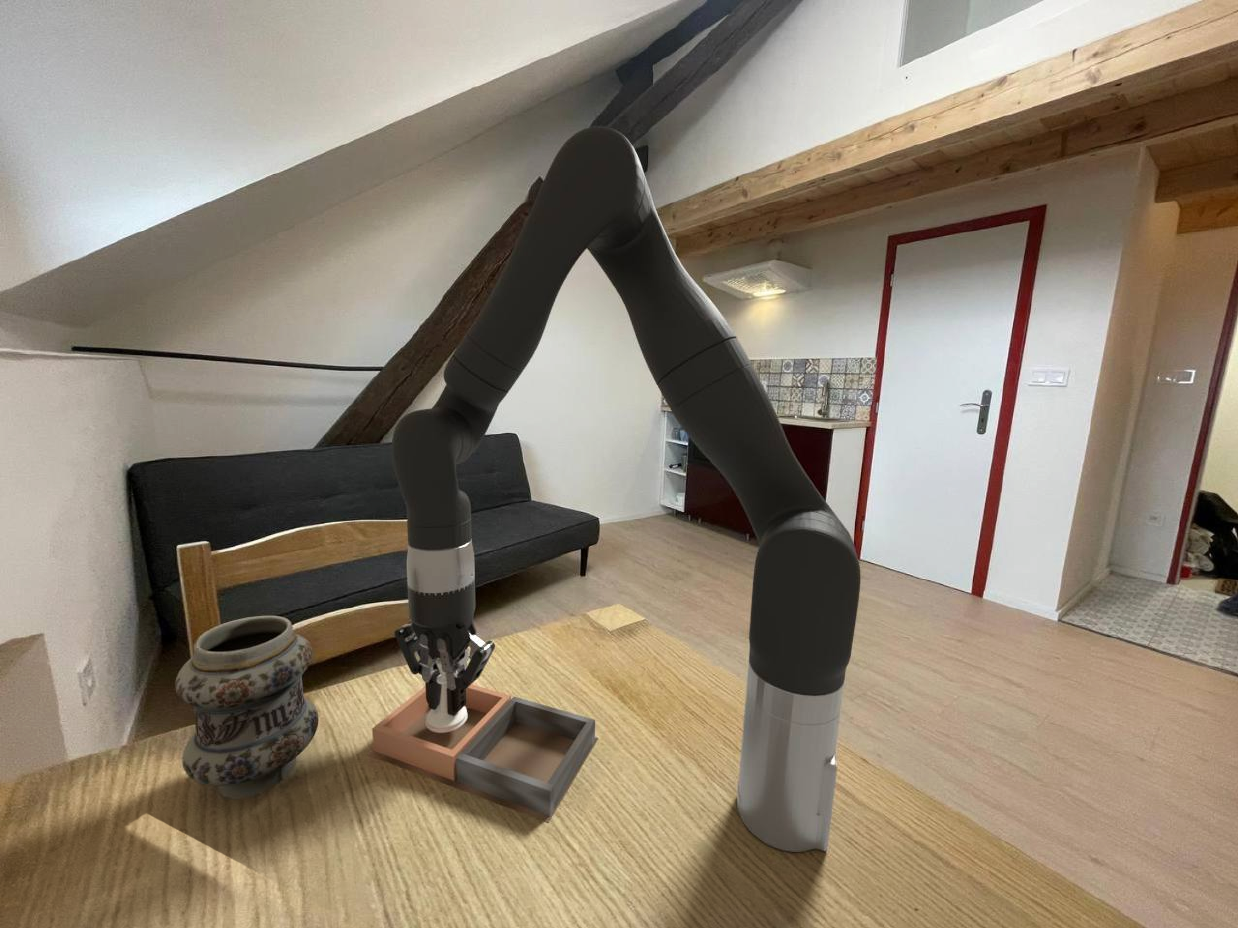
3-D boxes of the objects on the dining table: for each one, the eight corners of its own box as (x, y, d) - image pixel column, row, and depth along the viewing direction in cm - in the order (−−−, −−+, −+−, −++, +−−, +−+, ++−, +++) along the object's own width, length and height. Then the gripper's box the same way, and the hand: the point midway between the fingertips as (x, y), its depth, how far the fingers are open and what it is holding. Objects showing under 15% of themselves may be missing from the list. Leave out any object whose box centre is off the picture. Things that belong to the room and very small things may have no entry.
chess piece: (473, 708, 65) (471, 636, 63) (457, 734, 60) (455, 658, 58) (437, 704, 65) (434, 633, 64) (418, 730, 61) (414, 655, 59)
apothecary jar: (330, 733, 64) (320, 601, 61) (309, 809, 53) (295, 653, 50) (215, 754, 60) (198, 614, 57) (166, 842, 49) (140, 674, 45)
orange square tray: (511, 715, 66) (511, 695, 66) (453, 780, 56) (453, 756, 55) (440, 694, 70) (439, 674, 70) (373, 750, 60) (372, 728, 59)
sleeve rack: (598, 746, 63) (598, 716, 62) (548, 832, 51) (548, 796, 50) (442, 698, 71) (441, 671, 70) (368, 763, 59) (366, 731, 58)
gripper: (509, 575, 60) (510, 704, 63) (417, 557, 65) (422, 678, 68) (470, 600, 54) (474, 744, 57) (371, 578, 58) (379, 712, 61)
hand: (446, 707), depth 62 cm, fingers closed on chess piece, 2 cm apart
